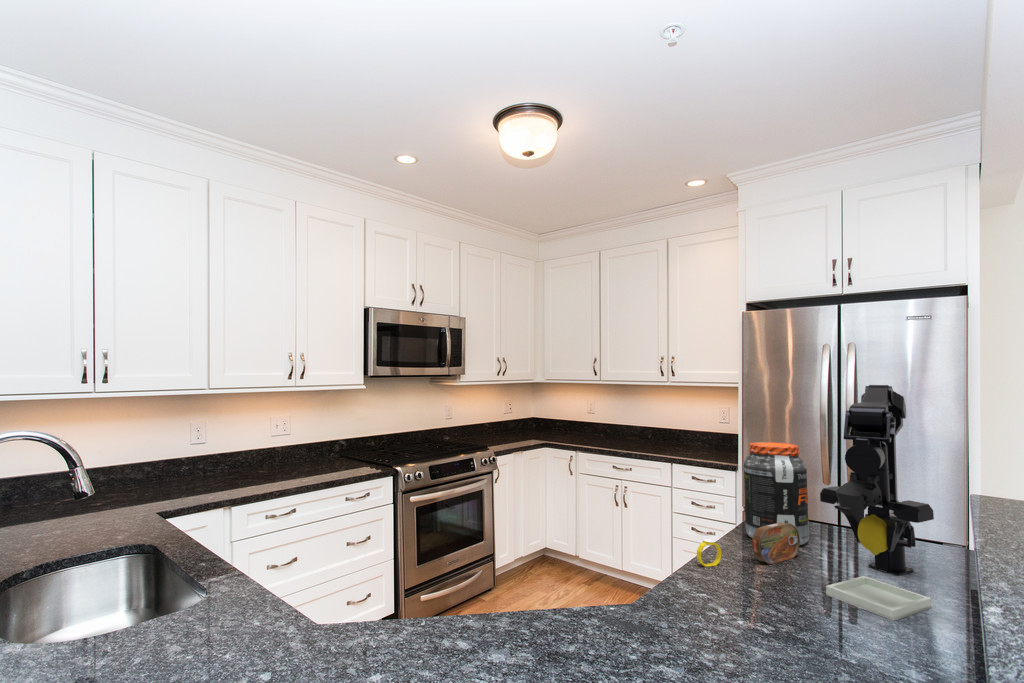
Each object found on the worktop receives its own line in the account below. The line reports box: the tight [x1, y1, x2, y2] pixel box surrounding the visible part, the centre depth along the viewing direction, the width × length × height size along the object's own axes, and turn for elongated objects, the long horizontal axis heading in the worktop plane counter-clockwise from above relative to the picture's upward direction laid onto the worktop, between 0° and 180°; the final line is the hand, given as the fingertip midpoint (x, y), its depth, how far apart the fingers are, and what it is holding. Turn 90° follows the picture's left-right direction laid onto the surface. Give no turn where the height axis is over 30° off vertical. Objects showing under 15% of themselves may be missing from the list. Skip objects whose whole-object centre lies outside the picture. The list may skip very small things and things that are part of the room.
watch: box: [696, 538, 723, 568], centre depth 123 cm, size 6×3×6 cm, turn 105°
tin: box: [751, 523, 801, 565], centre depth 127 cm, size 15×3×8 cm, turn 117°
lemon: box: [858, 514, 888, 555], centre depth 104 cm, size 6×6×8 cm
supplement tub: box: [743, 441, 810, 546], centre depth 144 cm, size 16×16×26 cm
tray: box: [825, 575, 933, 622], centre depth 103 cm, size 13×13×2 cm
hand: (874, 546), depth 104 cm, fingers closed on lemon, 5 cm apart
